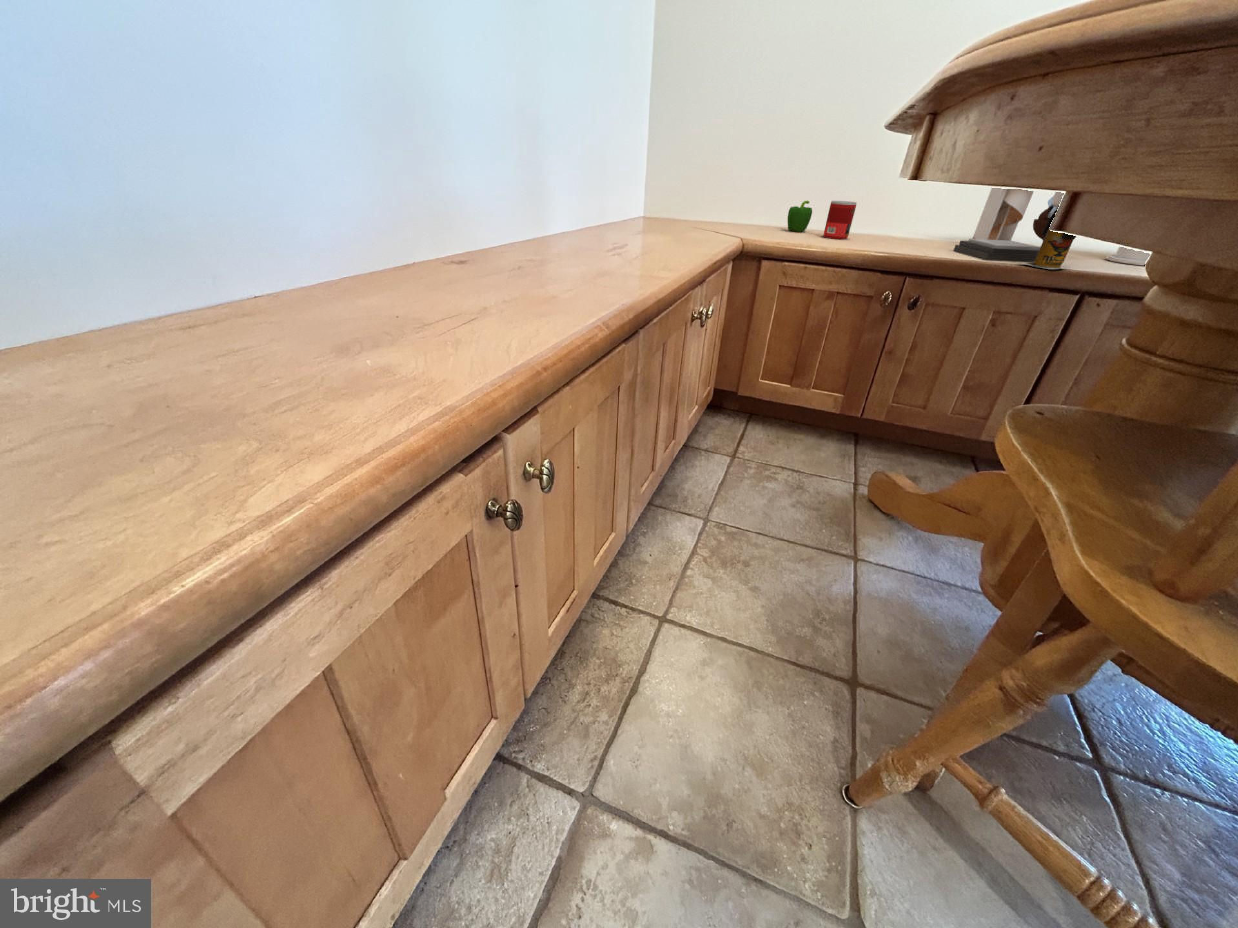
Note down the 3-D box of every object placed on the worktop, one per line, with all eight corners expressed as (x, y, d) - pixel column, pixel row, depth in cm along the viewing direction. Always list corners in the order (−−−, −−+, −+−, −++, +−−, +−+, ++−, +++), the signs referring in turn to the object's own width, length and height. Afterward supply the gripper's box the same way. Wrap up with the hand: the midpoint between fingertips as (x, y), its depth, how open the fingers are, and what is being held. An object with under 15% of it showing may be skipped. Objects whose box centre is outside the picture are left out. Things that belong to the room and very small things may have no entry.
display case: (982, 248, 162) (1033, 117, 143) (970, 244, 170) (1017, 120, 152) (1021, 251, 160) (1078, 119, 141) (1007, 246, 169) (1059, 121, 150)
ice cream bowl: (1070, 259, 149) (1097, 203, 141) (1029, 256, 151) (1054, 200, 143) (1051, 253, 158) (1076, 200, 150) (1013, 251, 159) (1035, 198, 152)
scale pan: (1009, 245, 152) (1011, 240, 152) (1039, 252, 141) (1041, 247, 140) (967, 243, 152) (969, 238, 151) (994, 250, 141) (996, 245, 140)
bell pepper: (787, 232, 178) (794, 201, 173) (782, 229, 185) (788, 199, 180) (811, 233, 178) (818, 202, 173) (804, 230, 185) (811, 200, 180)
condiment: (1052, 270, 129) (1075, 218, 122) (1018, 264, 135) (1039, 215, 129) (1068, 268, 131) (1092, 217, 125) (1034, 262, 138) (1055, 214, 131)
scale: (1010, 253, 155) (1014, 242, 153) (1047, 262, 141) (1053, 251, 140) (953, 250, 154) (957, 240, 153) (985, 260, 141) (990, 248, 139)
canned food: (849, 240, 166) (859, 203, 160) (825, 238, 167) (833, 201, 161) (844, 237, 173) (853, 201, 167) (820, 235, 174) (829, 200, 168)
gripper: (1142, 155, 112) (1099, 242, 121) (1082, 155, 126) (1047, 232, 136) (1109, 154, 112) (1069, 241, 121) (1052, 154, 126) (1020, 232, 136)
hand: (1058, 236), depth 129 cm, fingers closed on condiment, 6 cm apart
